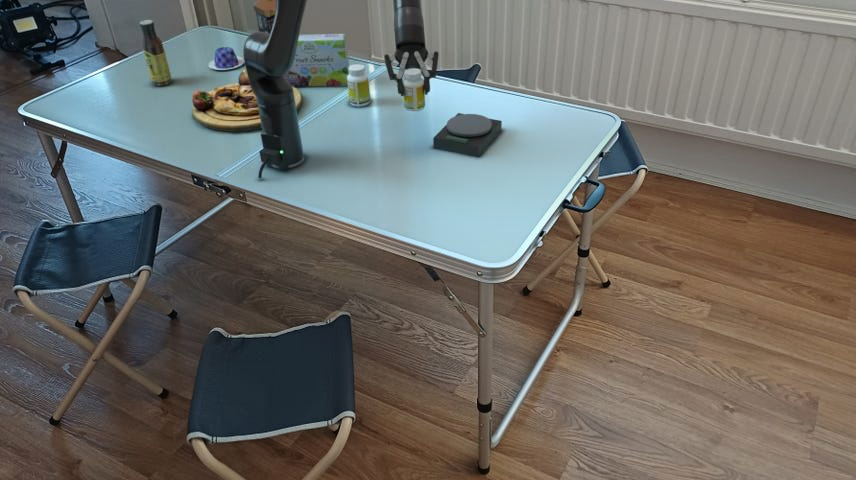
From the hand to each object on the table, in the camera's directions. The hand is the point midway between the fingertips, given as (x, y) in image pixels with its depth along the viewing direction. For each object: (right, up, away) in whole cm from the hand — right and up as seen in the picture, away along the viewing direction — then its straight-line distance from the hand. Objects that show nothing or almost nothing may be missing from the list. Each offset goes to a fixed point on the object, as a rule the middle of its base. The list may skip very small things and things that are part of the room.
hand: (414, 94), depth 181 cm
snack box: (-32, +15, +48) cm, 59 cm away
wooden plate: (-50, +4, +35) cm, 61 cm away
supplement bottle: (0, -2, +4) cm, 5 cm away
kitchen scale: (+14, -8, +15) cm, 22 cm away
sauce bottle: (-82, +16, +52) cm, 99 cm away
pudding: (-64, +25, +63) cm, 93 cm away
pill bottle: (-17, +6, +36) cm, 40 cm away
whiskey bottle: (-46, +25, +62) cm, 81 cm away
